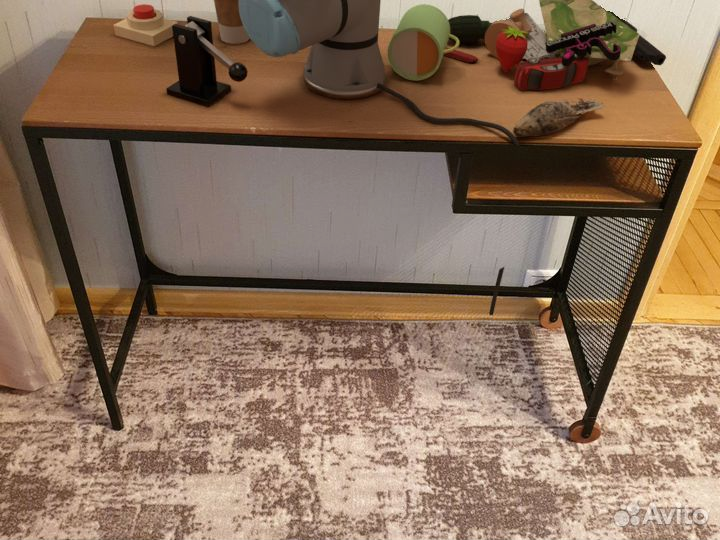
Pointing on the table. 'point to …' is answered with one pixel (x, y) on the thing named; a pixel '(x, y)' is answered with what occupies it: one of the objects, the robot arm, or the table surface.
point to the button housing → (145, 28)
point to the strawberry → (511, 47)
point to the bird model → (552, 117)
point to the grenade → (468, 28)
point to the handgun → (645, 48)
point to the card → (576, 10)
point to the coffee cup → (230, 22)
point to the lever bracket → (195, 66)
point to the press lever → (220, 56)
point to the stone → (536, 42)
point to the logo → (585, 47)
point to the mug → (420, 42)
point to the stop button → (144, 11)
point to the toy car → (549, 73)
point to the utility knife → (461, 56)
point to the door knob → (503, 24)
